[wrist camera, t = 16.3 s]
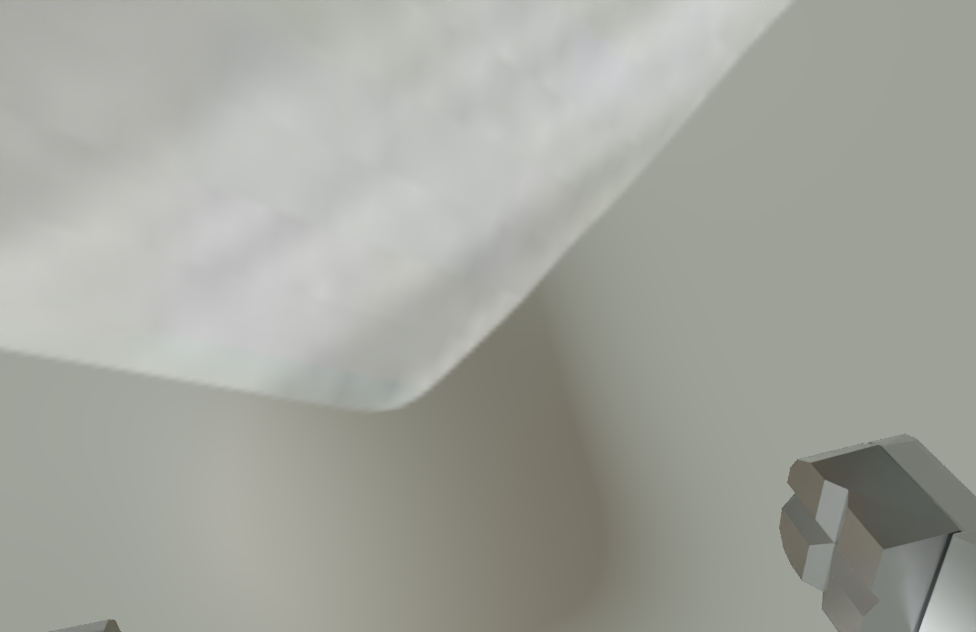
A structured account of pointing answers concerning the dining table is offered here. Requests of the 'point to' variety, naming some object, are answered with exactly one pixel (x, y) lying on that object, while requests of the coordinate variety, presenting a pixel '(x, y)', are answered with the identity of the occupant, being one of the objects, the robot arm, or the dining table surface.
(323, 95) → the dining table surface
